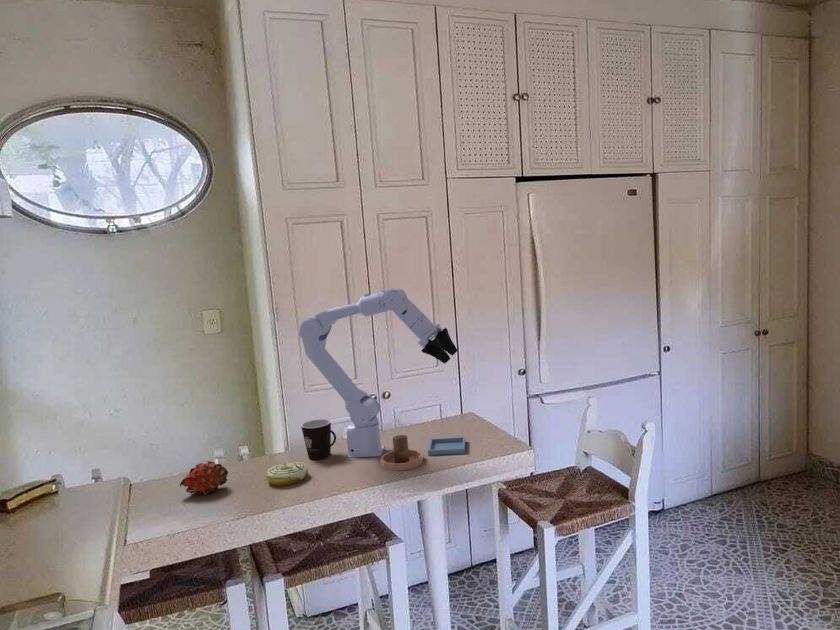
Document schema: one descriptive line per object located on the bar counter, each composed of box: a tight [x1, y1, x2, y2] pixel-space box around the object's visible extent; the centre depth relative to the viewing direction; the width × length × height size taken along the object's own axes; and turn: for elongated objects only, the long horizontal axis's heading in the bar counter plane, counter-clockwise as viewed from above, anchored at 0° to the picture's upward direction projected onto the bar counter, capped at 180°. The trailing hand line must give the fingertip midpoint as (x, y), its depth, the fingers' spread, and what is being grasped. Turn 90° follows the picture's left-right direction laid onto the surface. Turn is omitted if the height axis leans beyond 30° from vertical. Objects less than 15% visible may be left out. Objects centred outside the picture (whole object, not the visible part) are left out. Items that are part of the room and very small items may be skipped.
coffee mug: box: [300, 418, 337, 461], centre depth 168 cm, size 12×9×10 cm
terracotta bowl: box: [379, 448, 424, 471], centre depth 158 cm, size 11×11×2 cm
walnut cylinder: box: [392, 434, 409, 463], centre depth 157 cm, size 4×4×7 cm
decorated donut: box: [266, 461, 309, 487], centre depth 154 cm, size 10×11×4 cm
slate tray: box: [427, 436, 466, 457], centre depth 165 cm, size 10×10×2 cm
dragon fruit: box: [179, 460, 229, 496], centre depth 150 cm, size 8×8×12 cm
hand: (451, 357), depth 160 cm, fingers open, 7 cm apart
